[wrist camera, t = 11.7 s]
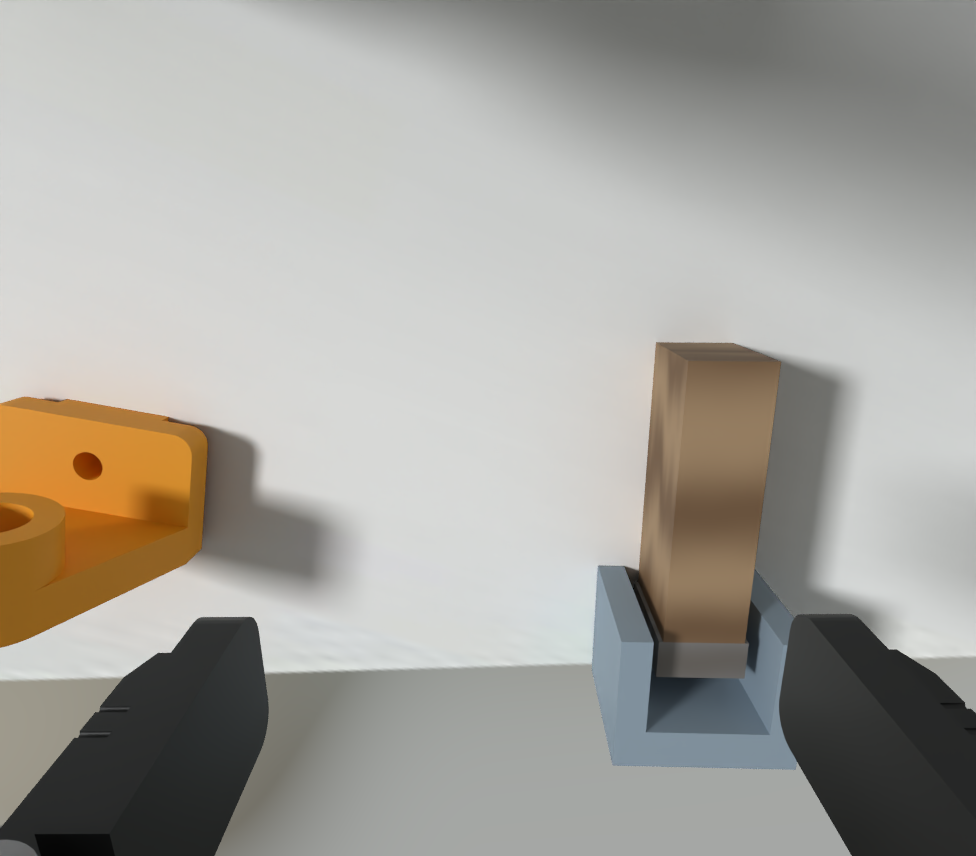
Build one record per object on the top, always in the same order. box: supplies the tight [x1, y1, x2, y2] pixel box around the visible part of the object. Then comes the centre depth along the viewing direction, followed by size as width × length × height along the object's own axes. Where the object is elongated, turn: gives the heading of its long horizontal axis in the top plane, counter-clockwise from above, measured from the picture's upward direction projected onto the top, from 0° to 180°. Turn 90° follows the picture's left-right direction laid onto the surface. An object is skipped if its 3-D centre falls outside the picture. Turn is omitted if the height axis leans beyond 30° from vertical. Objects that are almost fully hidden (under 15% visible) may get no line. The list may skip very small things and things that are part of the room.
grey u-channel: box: [592, 566, 797, 770], centre depth 34 cm, size 7×9×8 cm
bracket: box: [0, 397, 208, 648], centre depth 30 cm, size 11×7×12 cm, turn 80°
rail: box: [634, 342, 781, 679], centre depth 32 cm, size 16×4×6 cm, turn 0°
